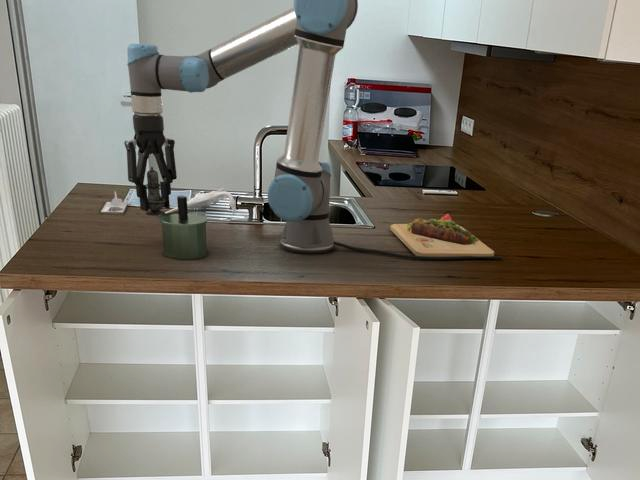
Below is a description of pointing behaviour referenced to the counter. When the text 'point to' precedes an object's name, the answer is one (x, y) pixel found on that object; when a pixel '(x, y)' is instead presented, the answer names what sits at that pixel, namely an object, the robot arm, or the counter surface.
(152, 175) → the dark grey tall piece
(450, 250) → the cutting board
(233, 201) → the dinosaur
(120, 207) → the car cutout
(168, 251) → the pot
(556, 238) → the counter surface
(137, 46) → the robot arm
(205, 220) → the pot lid
